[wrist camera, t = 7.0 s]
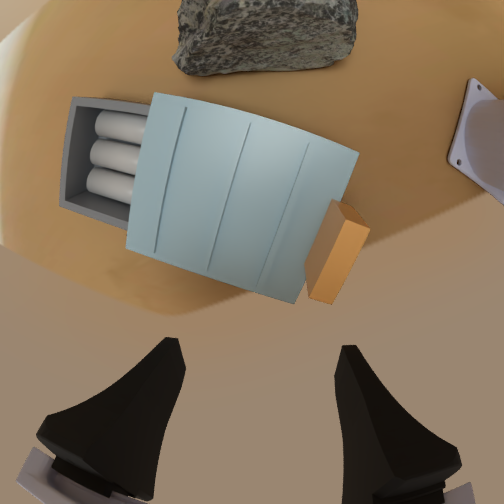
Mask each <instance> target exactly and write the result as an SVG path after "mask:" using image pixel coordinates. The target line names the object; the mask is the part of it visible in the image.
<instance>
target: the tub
mask: <svg viewBox="0 0 504 504" xmlns="http://www.w3.org/2000/svg"><path fill="white" fill-rule="evenodd" d="M150 106H151V104H145V103H139V102H132V101H125V100H117V99H108V98H94V97H72V102H71V106H70V111H69V116H68V122H67V128H66V134H65V141H64V149H63V157H62V167H61V179H60V198H59V206H60V207H63V208H66V209H68V210H71V211H74V212H77V213H79V214H82V215H85V216H88V217H90V218H93V219H96V220H99V221H102V222H104V223H107V224H110V225H113V226H116V227H118V228H121V229H124V230H128V222H129V213H130V206H131V199H132V192H133V186H134V180H135V174H136V169H137V163H138V158H139V153H140V148H141V144H142V139H143V135H144V130H145V126H146V122H147V118H148V114H149V110H150Z"/></svg>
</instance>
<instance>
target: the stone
mask: <svg viewBox="0 0 504 504" xmlns="http://www.w3.org/2000/svg"><path fill="white" fill-rule="evenodd" d="M177 13H178V22H179V27H178V29H179V32H180V34H179V38H178V41H179V46H178V49H177V51H176V53H175V54H174V55H173V56H172V60H173V61H174V62H175V64H176V65H177V66H178V68H179V69H180V70H181V71H183V72H184V73H185V74H187V75H199V76H207V75H211V74H216V73H223V74H227V73H231V72H237V71H252V70H256V71H267V70H271V71H294V70H300V69H311V68H321V67H326V66H331V65H333V64H334V61H336V60H341V59H343V58H345V57H347V56H348V55H349V54H350V52H351V50H352V48H353V46H354V42H355V40H356V26H355V25H356V21H357V20H358V8H357V2H356V0H182V3H181V6H180V8H179V10H178V11H177Z"/></svg>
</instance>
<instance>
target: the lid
mask: <svg viewBox="0 0 504 504" xmlns="http://www.w3.org/2000/svg"><path fill="white" fill-rule="evenodd" d="M358 156H359V152H357V151H354V150H352V149H350V148H347V147H345V146H343V145H340V144H338V143H335V142H333V141H330V140H328V139H325V138H323V137H320V136H318V135H315V134H312V133H310V132H307V131H304V130H301V129H299V128H296V127H293V126H290V125H287V124H284V123H281V122H278V121H275V120H272V119H268V118H265V117H262V116H258V115H255V114H252V113H248V112H244V111H241V110H237V109H233V108H229V107H225V106H221V105H217V104H213V103H209V102H204V101H200V100H195V99H190V98H185V97H180V96H174V95H168V94H162V93H156V92H154V96H153V99H152V103H151V106H150V110H149V114H148V118H147V122H146V126H145V130H144V135H143V139H142V144H141V148H140V153H139V158H138V163H137V169H136V174H135V180H134V186H133V192H132V199H131V206H130V213H129V222H128V230H127V240H126V249H129V250H132V251H134V252H137V253H140V254H143V255H145V256H148V257H151V258H154V259H157V260H159V261H162V262H165V263H168V264H171V265H174V266H177V267H179V268H182V269H185V270H188V271H191V272H194V273H197V274H200V275H203V276H206V277H209V278H212V279H215V280H218V281H221V282H224V283H227V284H230V285H233V286H236V287H239V288H243V289H246V290H249V291H252V292H255V293H258V294H262V295H265V296H268V297H272V298H275V299H278V300H281V301H285V302H288V303H291V304H295V301H296V299H297V297H298V295H299V293H300V291H301V289H302V287H303V285H304V283H305V281H307V288H308V297H309V298H311V299H314V300H317V301H321V302H324V303H327V304H331V305H332V304H333V302H334V300H335V298H336V296H337V294H338V293H339V290H340V289H341V287H342V285H343V283H344V281H345V279H346V278H347V276H348V274H349V272H350V270H351V268H352V266H353V264H354V262H355V260H356V258H357V256H358V254H359V252H360V250H361V248H362V246H363V244H364V242H365V240H366V238H367V236H368V234H369V232H370V228H369V226H368V225H367V224H366V223H365V222H364V220H363V219H362V218H361V217H360V216H359V214H358V213H357V212H356V211H355V210H354V208H353V207H352V206H349V205H347V204H344V203H342V202H340V201H341V199H342V197H343V194H344V192H345V189H346V187H347V184H348V182H349V179H350V177H351V174H352V171H353V169H354V166H355V164H356V161H357V158H358Z"/></svg>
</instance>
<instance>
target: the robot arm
mask: <svg viewBox="0 0 504 504" xmlns="http://www.w3.org/2000/svg"><path fill="white" fill-rule="evenodd" d="M477 86H478V87H479V90H478V88H477ZM457 160H459V163H458V165H457ZM448 162H449V163H450V165H452V166H453V167H455V168H456V169H458V170H459V171H461V172H462V173H463V174H465V175H466V176H468V177H469V178H470V179H472V180H473V181H474V182H476V183H477V184H478V185H479V186H481V187H482V188H483V189H485V190H486V191H487V192H488V193H490V194H491V195H492V196H493V197H494V198H496V199H497V200H498V201H499V202H500V203H502V204H503V205H504V100H498V99H497V98H496V97H495V96H494V95H493V94H492V93H491V92H490V91H489V90H488V89H486V88H485V87H484V86H483V85H482V84H481V83H480V82H478V81H477V80H476V79H475V78H471V79H469V82H468V86H467V91H466V95H465V100H464V104H463V108H462V112H461V115H460V119H459V123H458V126H457V129H456V133H455V136H454V139H453V142H452V145H451V149H450V152H449V154H448ZM185 371H186V366H185V363H184V359H183V356H182V352H181V348H180V344H179V341H178V338H170V337H165V338H164V339H163V340H162V341H161V342H160V343H159V344H158V345H157V346H156V347H155V348H154V349H153V350H152V351H151V352H150V353H149V354H148V355H146V356H145V357H144V359H142V360H141V361H140V362H139V363H138V364H137V365H136V366H135V367H134V368H132V369H131V370H130V371H129V372H128V373H126V374H125V375H124V376H123V377H122V378H120V379H119V380H118V381H117V382H115V383H114V384H112V385H111V386H110V387H108V388H107V389H105V390H104V391H102V392H100V393H99V394H97V395H95V396H93V397H92V398H90V399H88V400H86V401H84V402H82V403H80V404H78V405H76V406H73V407H71V408H69V409H66V410H63V411H60V412H57V413H54V414H51V415H48V416H47V417H46V418H45V420H44V421H43V423H42V425H41V426H40V428H39V430H38V432H37V433H36V436H37V438H38V440H39V441H40V442H42V444H44V445H45V446H46V447H47V448H48V449H49V450H50V451H51V452H53V453H54V454H55V455H56V458H55V460H54V459H52V458H51V457H50V456H48V455H47V454H45V453H43V452H42V451H40V450H39V449H37V448H35V447H33V448H32V450H31V452H30V454H29V456H28V457H27V459H26V461H25V463H24V465H23V467H22V469H21V471H20V473H19V475H18V477H17V479H16V482H17V483H18V484H19V485H21V486H22V487H23V488H24V489H26V490H27V491H28V492H30V493H31V494H32V495H33V496H35V497H36V498H37V499H38V500H40V501H41V502H42V503H44V504H147V503H144V502H141V501H138V500H135V499H133V498H138V499H141V500H144V501H150V500H152V499H153V496H154V486H155V477H156V471H157V465H158V460H159V455H160V450H161V445H162V441H163V437H164V433H165V430H166V427H167V423H168V421H169V418H170V416H171V413H172V411H173V408H174V405H175V403H176V400H177V398H178V395H179V393H180V390H181V387H182V383H183V379H184V375H185ZM334 378H335V394H336V400H337V407H338V412H339V418H340V424H341V430H342V437H343V455H344V475H343V476H344V477H343V496H342V504H475V499H474V494H473V490H472V485H471V482H468V483H466V484H464V485H462V486H460V487H457V488H455V489H453V490H450V491H448V492H446V493H444V494H443V488H445V486H446V485H445V480H446V479H447V478H449V477H450V476H452V475H453V474H454V473H456V472H457V471H458V470H459V469H460V468H461V466H462V463H461V459H460V455H459V452H458V450H457V447H455V446H453V445H452V444H450V443H448V442H446V441H445V440H443V439H441V438H439V437H438V436H436V435H435V434H434V433H432V432H431V431H429V430H428V429H427V428H425V427H424V426H423V425H422V424H420V423H419V422H418V421H417V420H416V419H414V418H413V417H412V416H411V415H410V414H409V413H408V412H407V411H406V410H405V409H404V408H403V407H402V406H401V405H400V404H399V403H398V402H397V401H396V400H395V398H394V397H393V396H392V395H391V394H390V392H389V391H388V390H387V389H386V388H385V386H384V385H383V384H382V383H381V381H380V380H379V378H378V377H377V376H376V374H375V373H374V371H373V370H372V369H371V367H370V366H369V364H368V363H367V361H366V360H365V359H364V357H363V355H362V353H361V352H360V350H359V349H358V347H357V346H356V345H343V346H342V349H341V353H340V356H339V360H338V364H337V368H336V372H335V375H334ZM128 496H130V497H133V498H130V497H128Z"/></svg>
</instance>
